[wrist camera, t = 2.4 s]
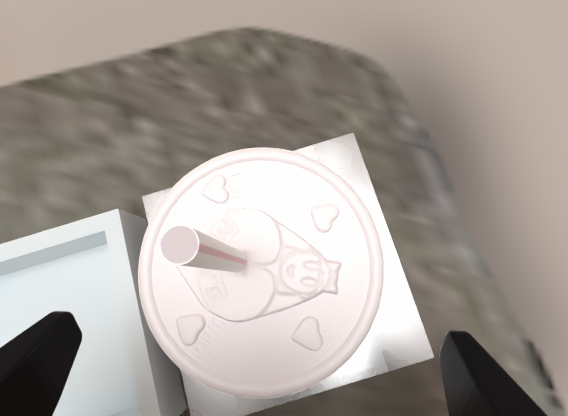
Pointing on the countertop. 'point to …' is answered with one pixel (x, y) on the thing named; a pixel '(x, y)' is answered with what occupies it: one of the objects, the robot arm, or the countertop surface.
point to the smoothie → (261, 273)
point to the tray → (93, 314)
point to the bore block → (388, 323)
